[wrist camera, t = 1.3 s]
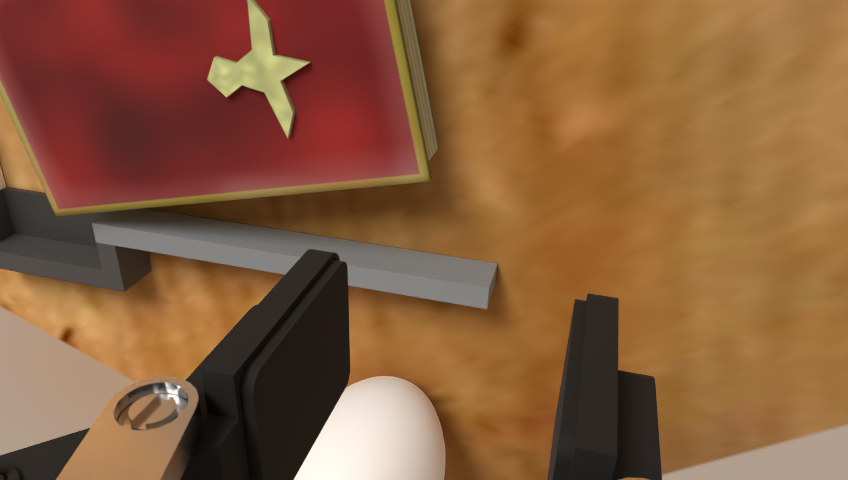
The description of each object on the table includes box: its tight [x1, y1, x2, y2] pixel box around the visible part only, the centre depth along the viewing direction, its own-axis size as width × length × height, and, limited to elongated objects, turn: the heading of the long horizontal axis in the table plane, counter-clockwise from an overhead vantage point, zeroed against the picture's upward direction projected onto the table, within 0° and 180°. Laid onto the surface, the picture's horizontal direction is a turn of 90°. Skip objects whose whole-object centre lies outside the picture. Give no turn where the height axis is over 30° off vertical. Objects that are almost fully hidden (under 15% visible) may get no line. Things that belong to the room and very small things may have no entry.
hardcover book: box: [0, 0, 438, 216], centre depth 31 cm, size 12×21×4 cm, turn 101°
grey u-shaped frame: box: [0, 166, 498, 309], centre depth 32 cm, size 31×26×2 cm
